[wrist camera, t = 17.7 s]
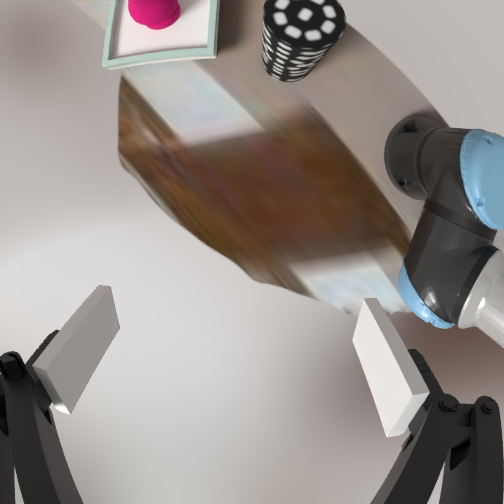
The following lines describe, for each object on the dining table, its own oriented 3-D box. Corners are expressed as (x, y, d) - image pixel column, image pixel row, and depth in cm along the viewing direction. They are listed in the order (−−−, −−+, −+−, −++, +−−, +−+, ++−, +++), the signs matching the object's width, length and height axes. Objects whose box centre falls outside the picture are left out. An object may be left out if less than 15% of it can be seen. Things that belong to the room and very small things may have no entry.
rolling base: (224, -23, 34) (220, -38, 28) (218, 62, 40) (213, 53, 35) (128, -9, 34) (115, -21, 28) (118, 72, 41) (102, 67, 35)
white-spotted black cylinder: (297, 91, 42) (323, 64, 24) (252, 67, 41) (247, 25, 22) (321, 53, 39) (358, 9, 21) (277, 29, 38) (287, -28, 19)
